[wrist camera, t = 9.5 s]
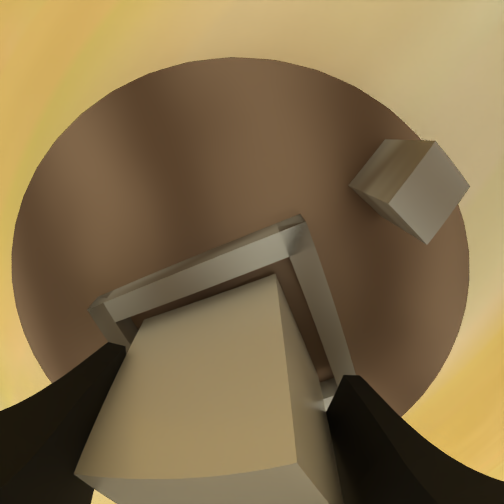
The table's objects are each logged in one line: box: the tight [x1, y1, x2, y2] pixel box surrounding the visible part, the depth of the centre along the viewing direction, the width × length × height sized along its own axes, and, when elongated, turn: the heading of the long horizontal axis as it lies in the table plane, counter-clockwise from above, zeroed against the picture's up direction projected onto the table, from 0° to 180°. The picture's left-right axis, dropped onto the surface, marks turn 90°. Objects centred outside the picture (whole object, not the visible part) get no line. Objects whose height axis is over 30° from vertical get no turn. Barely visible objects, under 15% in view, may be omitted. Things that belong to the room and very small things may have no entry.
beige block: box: [74, 274, 344, 504], centre depth 8 cm, size 8×5×6 cm, turn 113°
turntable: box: [12, 57, 470, 417], centre depth 11 cm, size 20×20×4 cm
